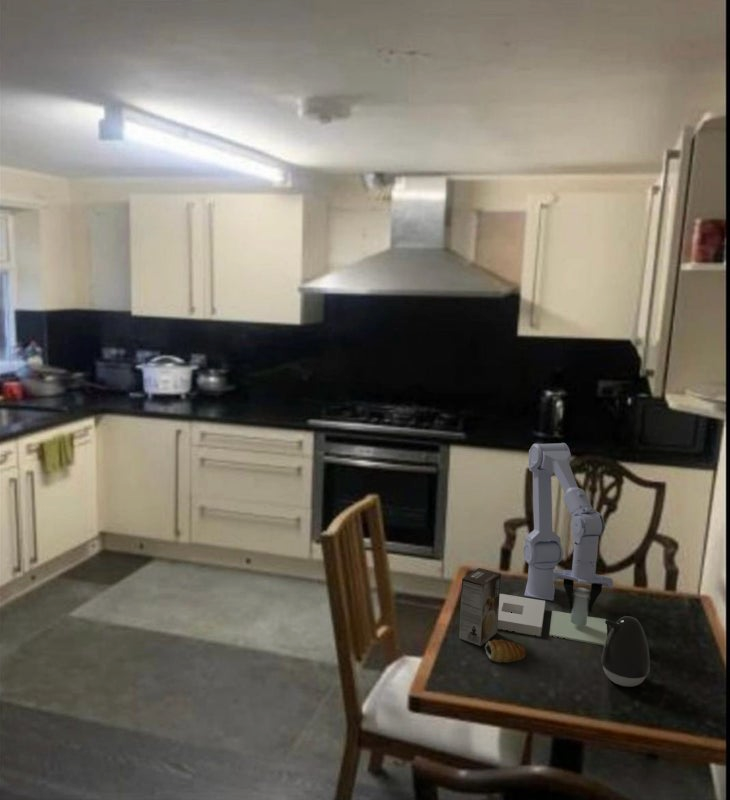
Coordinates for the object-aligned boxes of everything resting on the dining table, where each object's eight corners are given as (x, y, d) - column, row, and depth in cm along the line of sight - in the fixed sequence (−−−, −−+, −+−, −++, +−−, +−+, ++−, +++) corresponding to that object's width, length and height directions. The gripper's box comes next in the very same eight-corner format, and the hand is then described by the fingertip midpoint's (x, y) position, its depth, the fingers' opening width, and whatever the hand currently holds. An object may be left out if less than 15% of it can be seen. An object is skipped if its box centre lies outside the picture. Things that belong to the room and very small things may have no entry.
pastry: (519, 648, 173) (520, 634, 172) (529, 663, 166) (531, 648, 166) (482, 650, 171) (483, 635, 171) (491, 665, 165) (492, 650, 164)
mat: (552, 612, 192) (552, 610, 192) (606, 621, 188) (606, 619, 188) (549, 636, 179) (549, 634, 179) (607, 646, 175) (607, 644, 175)
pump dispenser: (593, 667, 165) (599, 606, 163) (638, 669, 165) (644, 608, 162) (606, 692, 155) (612, 627, 153) (654, 694, 155) (661, 629, 152)
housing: (486, 599, 198) (486, 591, 198) (544, 609, 194) (545, 600, 193) (477, 625, 183) (478, 616, 183) (540, 636, 179) (541, 627, 178)
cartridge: (569, 616, 186) (573, 586, 185) (587, 619, 185) (590, 589, 183) (569, 624, 182) (572, 593, 180) (587, 627, 181) (591, 596, 179)
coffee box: (475, 625, 184) (479, 566, 181) (497, 633, 180) (502, 573, 177) (458, 638, 176) (461, 577, 174) (481, 647, 172) (485, 585, 170)
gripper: (554, 560, 179) (550, 610, 181) (615, 569, 175) (610, 620, 177) (555, 550, 185) (551, 599, 188) (614, 558, 181) (609, 608, 184)
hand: (580, 608), depth 183 cm, fingers closed on cartridge, 4 cm apart
